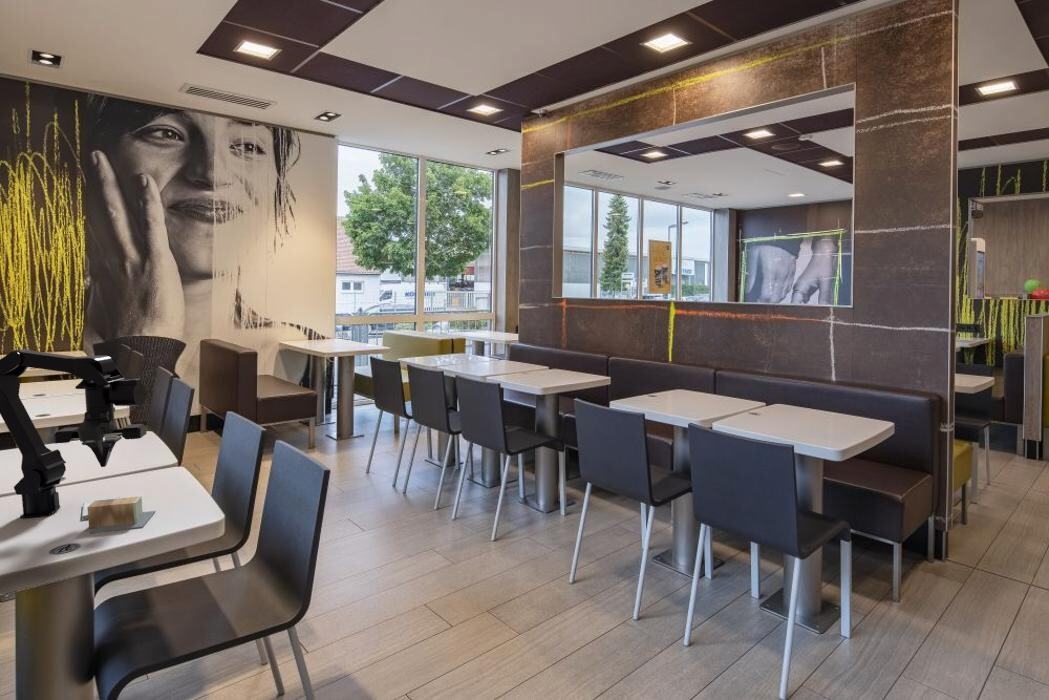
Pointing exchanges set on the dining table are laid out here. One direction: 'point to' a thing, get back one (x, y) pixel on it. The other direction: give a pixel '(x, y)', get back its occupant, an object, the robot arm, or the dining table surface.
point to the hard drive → (85, 509)
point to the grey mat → (139, 524)
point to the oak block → (115, 511)
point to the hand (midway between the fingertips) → (103, 466)
